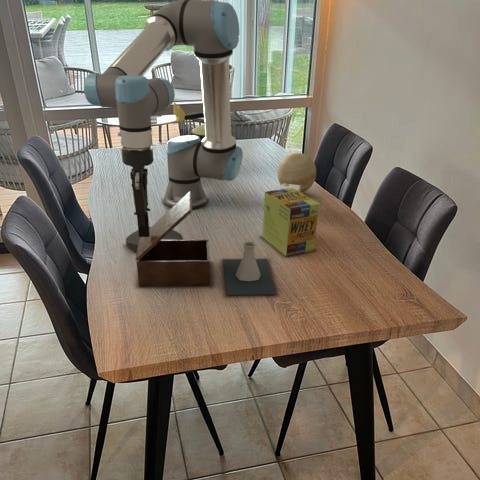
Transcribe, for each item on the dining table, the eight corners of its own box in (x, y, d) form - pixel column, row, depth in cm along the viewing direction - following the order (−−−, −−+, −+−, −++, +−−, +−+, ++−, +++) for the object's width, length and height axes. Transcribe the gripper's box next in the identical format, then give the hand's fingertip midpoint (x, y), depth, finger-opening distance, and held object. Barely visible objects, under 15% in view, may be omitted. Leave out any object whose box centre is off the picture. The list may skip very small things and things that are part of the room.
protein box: (286, 257, 154) (290, 208, 145) (261, 237, 165) (264, 191, 156) (314, 250, 158) (320, 203, 149) (288, 231, 169) (292, 186, 161)
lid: (192, 192, 137) (190, 190, 137) (191, 212, 126) (189, 209, 126) (141, 239, 144) (139, 237, 143) (137, 261, 133) (135, 259, 133)
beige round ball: (321, 195, 198) (326, 157, 189) (288, 201, 192) (291, 161, 183) (301, 183, 209) (304, 146, 200) (269, 188, 203) (271, 150, 194)
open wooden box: (208, 263, 150) (208, 239, 145) (209, 285, 139) (209, 261, 134) (143, 263, 148) (140, 239, 144) (139, 286, 137) (136, 261, 133)
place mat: (223, 260, 151) (223, 259, 151) (266, 260, 152) (266, 259, 152) (226, 296, 135) (226, 294, 134) (275, 295, 136) (275, 294, 135)
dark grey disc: (158, 259, 150) (157, 250, 149) (121, 247, 156) (120, 238, 155) (187, 241, 161) (187, 233, 159) (151, 230, 167) (150, 222, 165)
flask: (234, 269, 146) (235, 238, 140) (259, 269, 146) (261, 237, 141) (236, 282, 140) (237, 250, 134) (262, 282, 140) (264, 249, 135)
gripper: (124, 138, 128) (132, 225, 141) (117, 154, 117) (127, 246, 131) (154, 139, 128) (159, 225, 142) (150, 154, 118) (156, 246, 131)
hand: (144, 235), depth 136 cm, fingers closed
